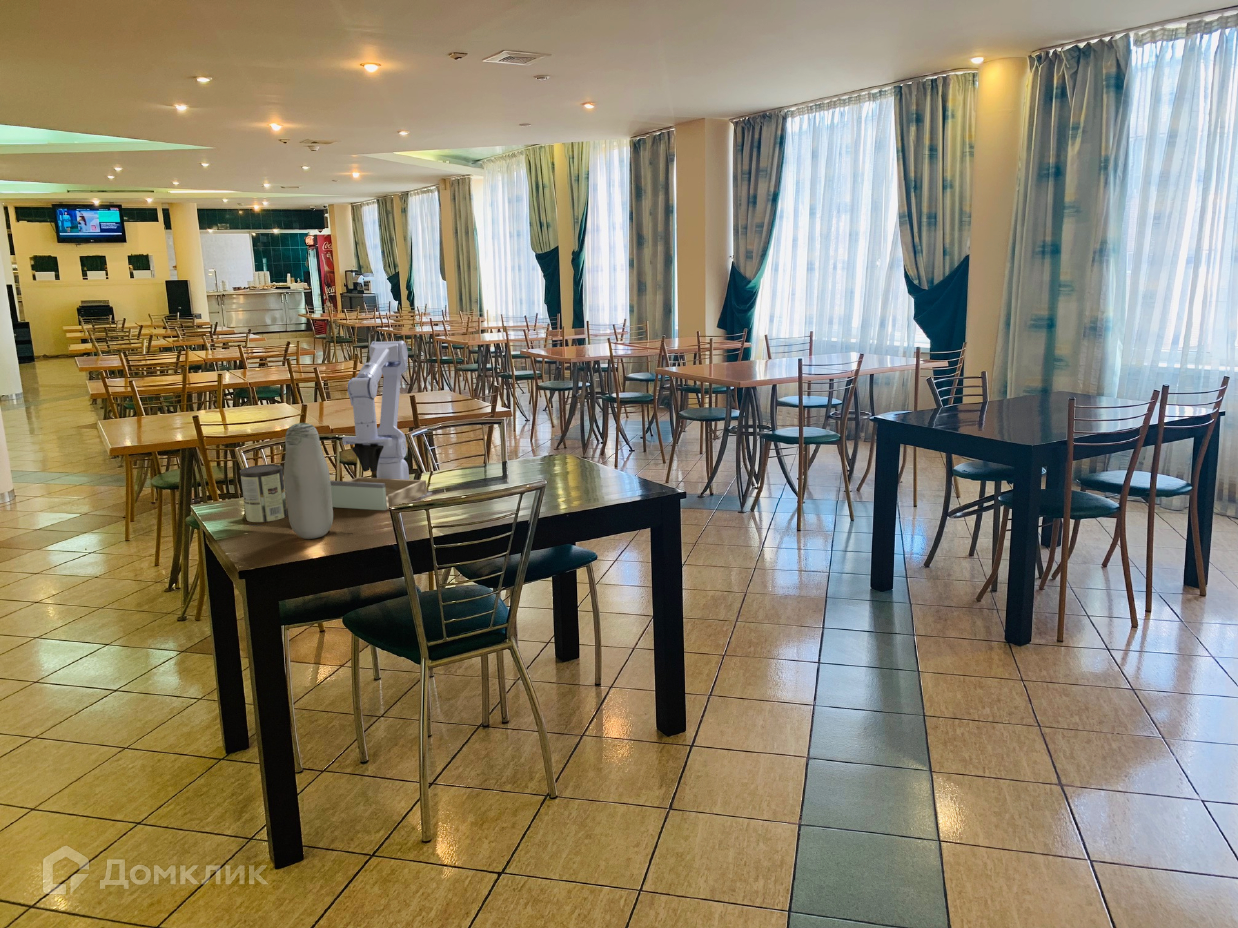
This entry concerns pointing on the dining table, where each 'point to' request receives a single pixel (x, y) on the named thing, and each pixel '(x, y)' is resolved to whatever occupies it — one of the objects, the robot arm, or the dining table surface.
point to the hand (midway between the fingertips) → (370, 471)
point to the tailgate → (358, 495)
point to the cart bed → (398, 489)
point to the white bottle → (307, 483)
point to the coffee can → (263, 493)
